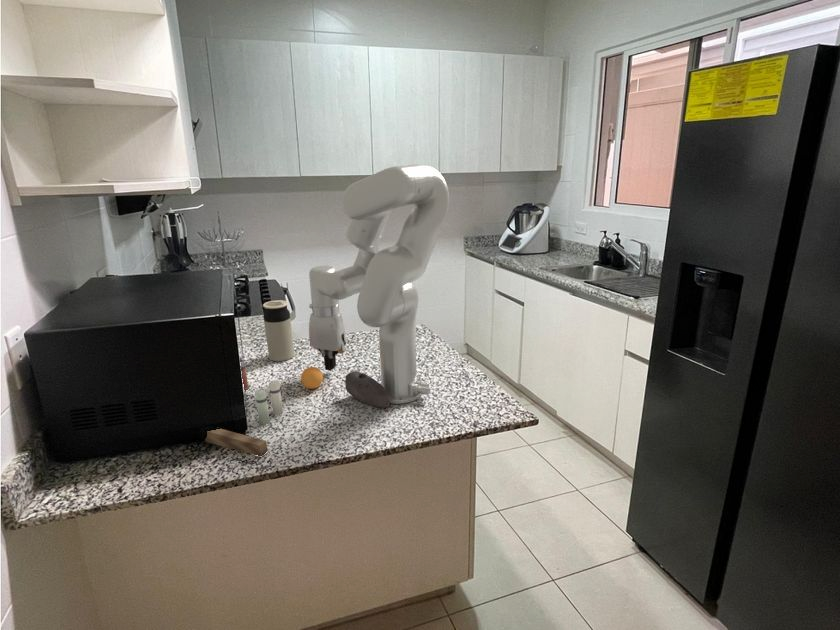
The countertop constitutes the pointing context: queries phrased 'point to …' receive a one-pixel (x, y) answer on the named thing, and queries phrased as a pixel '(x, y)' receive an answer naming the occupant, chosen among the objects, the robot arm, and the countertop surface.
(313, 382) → the ball
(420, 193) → the robot arm
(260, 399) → the sage pin
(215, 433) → the wall
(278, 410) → the ivory pin
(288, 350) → the travel mug
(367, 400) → the perforated stone tool
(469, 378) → the countertop surface
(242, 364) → the lighter
